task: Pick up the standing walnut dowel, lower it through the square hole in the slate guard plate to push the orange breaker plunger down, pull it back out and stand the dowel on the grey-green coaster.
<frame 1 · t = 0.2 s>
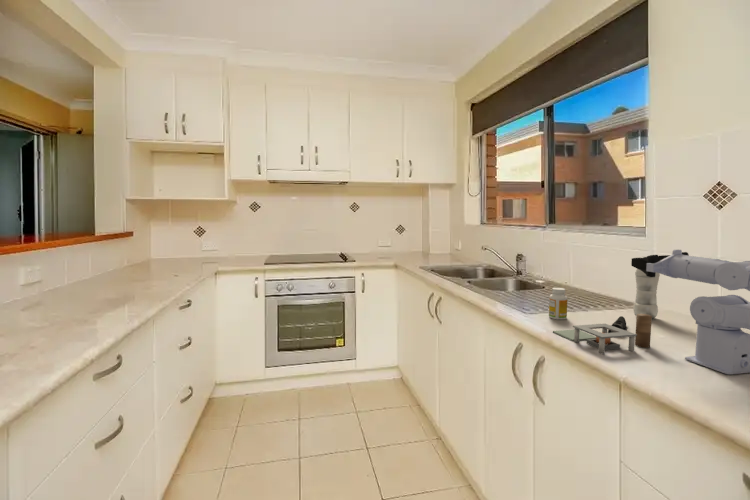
hand: (644, 260, 104), 21 cm above the countertop, tool horizontal, fingers open, 7 cm apart
plastic bottle: (644, 318, 127), on the countertop
plunger: (603, 338, 100), point 2 cm above the countertop, slide at 0.0 cm
coaster: (574, 335, 108), on the countertop
guard: (602, 345, 100), on the countertop
electric trimmer: (617, 331, 114), on the countertop
dowel: (642, 345, 100), on the countertop
supplement bottle: (557, 318, 128), on the countertop
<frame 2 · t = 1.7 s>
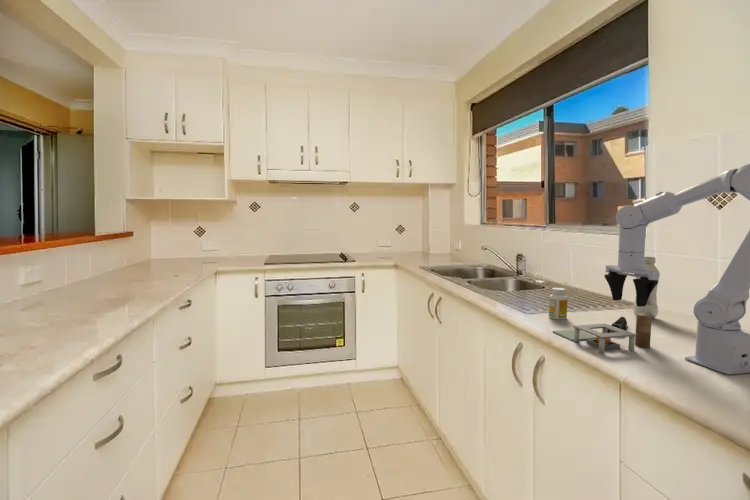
hand: (628, 303, 103), 10 cm above the countertop, tool pointing down, fingers open, 7 cm apart
nothing on the countertop moved.
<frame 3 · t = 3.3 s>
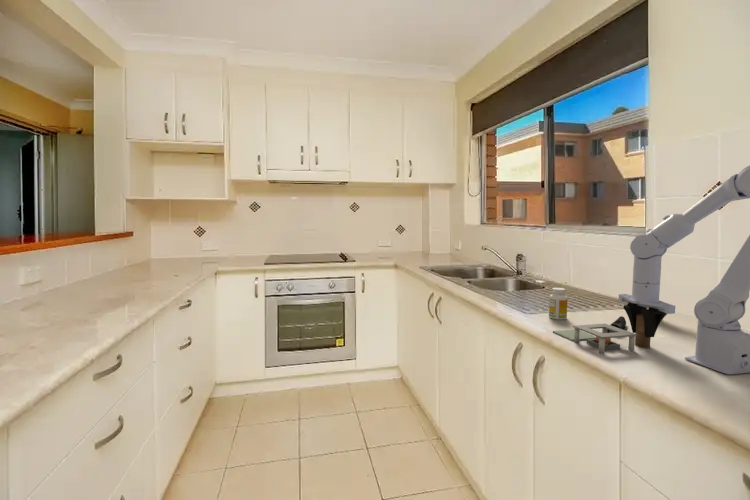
hand: (643, 334, 100), 3 cm above the countertop, tool pointing down, fingers closed on dowel, 3 cm apart
dowel: (642, 345, 100), on the countertop, touching gripper
everything else where it was.
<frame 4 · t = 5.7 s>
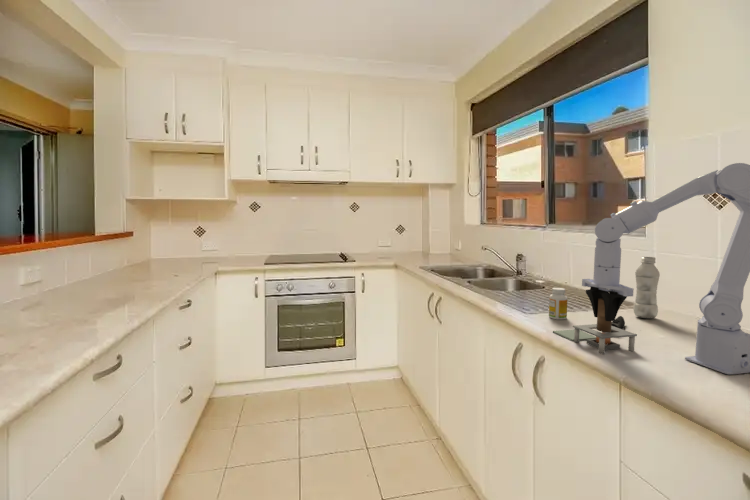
hand: (604, 318, 99), 7 cm above the countertop, tool pointing down, fingers closed on dowel, 3 cm apart
dowel: (603, 330, 99), point 4 cm above the countertop, touching gripper
everything else where it was.
when the fingers open (4 cm above the countertop, at t = 9.5 s): dowel stays where it is, resting on coaster.
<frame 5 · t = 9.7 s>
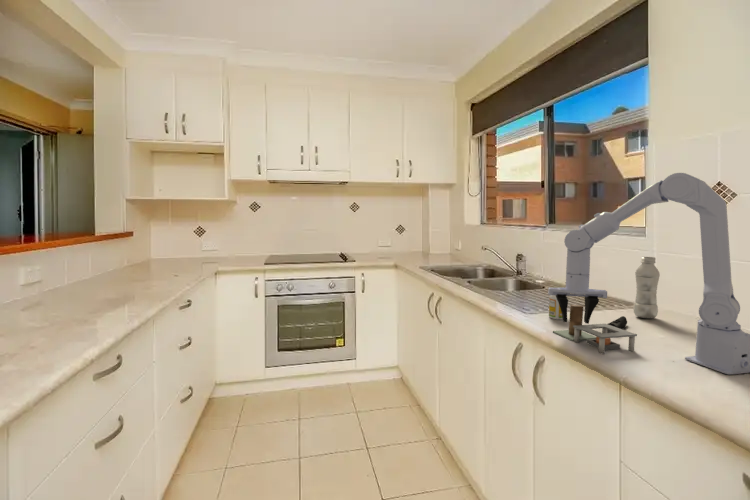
hand: (575, 321, 108), 4 cm above the countertop, tool pointing down, fingers open, 5 cm apart
plunger: (603, 341, 100), point 1 cm above the countertop, slide at 0.9 cm
dowel: (574, 334, 108), resting on coaster
everything else where it was.
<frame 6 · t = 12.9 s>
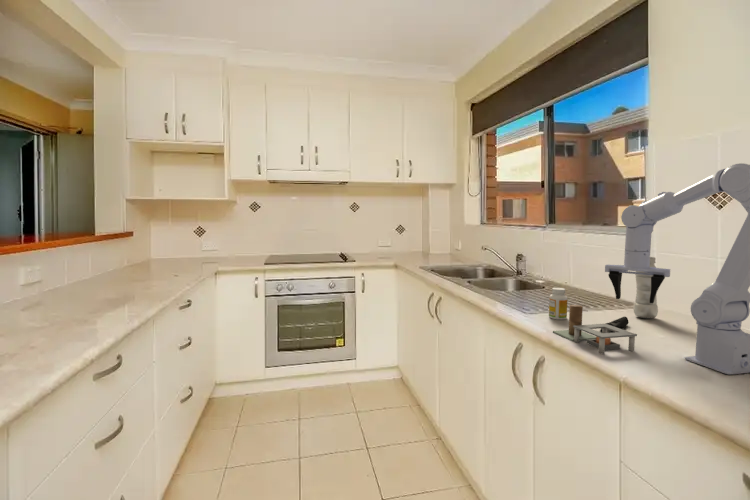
hand: (634, 300, 105), 10 cm above the countertop, tool pointing down, fingers open, 7 cm apart
at the end: plunger slide at 0.9 cm; dowel inside the target area on the coaster (0.0 cm from its centre), point 0.4 cm above the coaster's base; dowel tilted 0° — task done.
